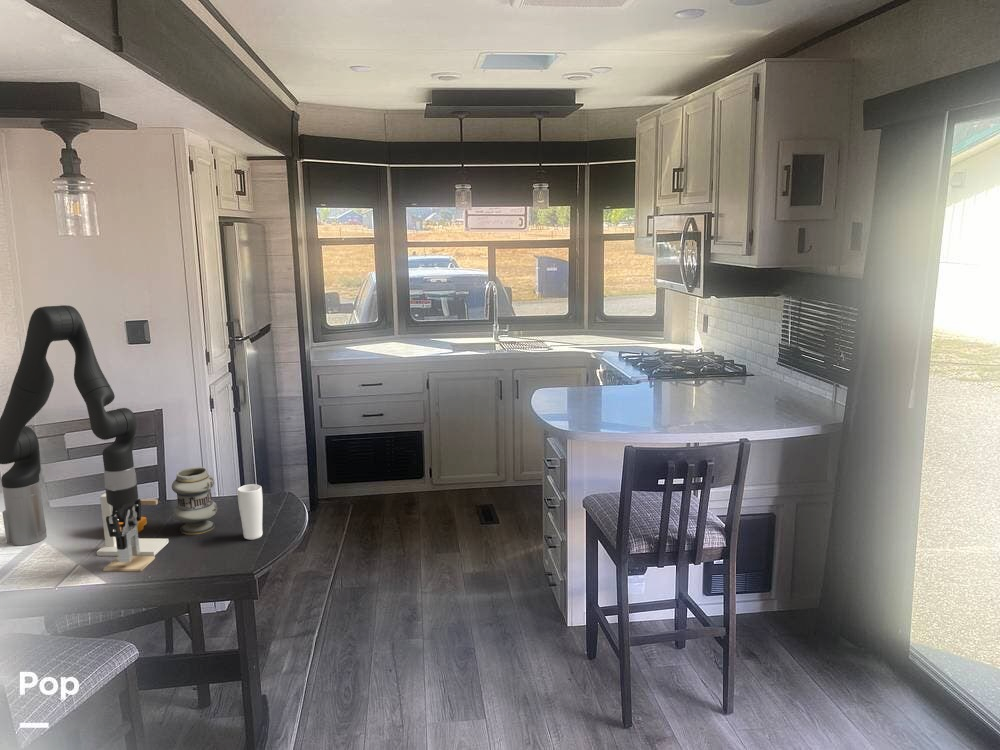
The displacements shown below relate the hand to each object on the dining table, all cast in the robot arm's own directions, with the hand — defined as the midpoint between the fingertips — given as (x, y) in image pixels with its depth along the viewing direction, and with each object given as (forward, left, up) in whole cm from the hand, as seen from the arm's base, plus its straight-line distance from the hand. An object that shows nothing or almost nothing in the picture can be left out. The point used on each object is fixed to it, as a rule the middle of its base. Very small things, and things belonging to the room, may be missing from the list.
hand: (127, 543), depth 207 cm
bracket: (-12, +22, -6) cm, 26 cm away
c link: (0, 0, -4) cm, 4 cm away
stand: (-4, +10, -6) cm, 12 cm away
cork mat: (0, 0, -6) cm, 6 cm away
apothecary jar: (+8, +25, -6) cm, 27 cm away
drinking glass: (+27, +19, -6) cm, 34 cm away
